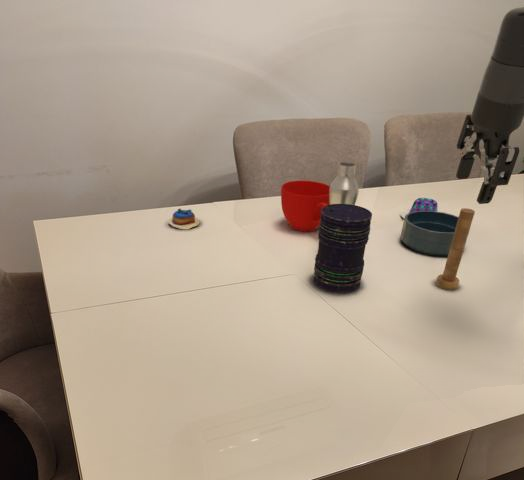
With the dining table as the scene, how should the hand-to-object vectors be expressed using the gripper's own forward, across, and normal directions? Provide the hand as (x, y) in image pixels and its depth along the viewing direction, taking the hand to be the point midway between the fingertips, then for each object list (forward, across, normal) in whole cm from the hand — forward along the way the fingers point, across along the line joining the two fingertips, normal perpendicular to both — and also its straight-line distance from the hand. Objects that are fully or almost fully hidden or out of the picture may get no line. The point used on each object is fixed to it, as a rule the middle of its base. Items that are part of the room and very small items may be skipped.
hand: (471, 189), depth 88 cm
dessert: (+27, +38, +51) cm, 69 cm away
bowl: (+28, +22, -8) cm, 36 cm away
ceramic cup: (+28, +33, +20) cm, 48 cm away
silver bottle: (+25, +18, +17) cm, 36 cm away
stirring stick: (+23, +1, -2) cm, 23 cm away
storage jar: (+22, +4, +21) cm, 30 cm away
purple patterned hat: (+32, +39, -14) cm, 52 cm away
